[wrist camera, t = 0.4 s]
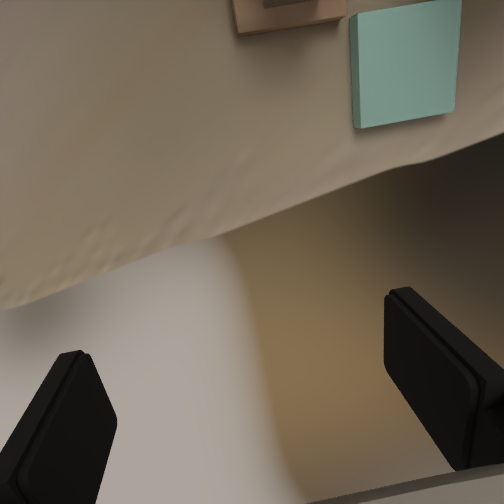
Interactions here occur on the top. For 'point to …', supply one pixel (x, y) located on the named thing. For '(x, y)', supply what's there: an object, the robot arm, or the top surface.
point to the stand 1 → (284, 15)
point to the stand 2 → (404, 62)
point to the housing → (281, 2)
